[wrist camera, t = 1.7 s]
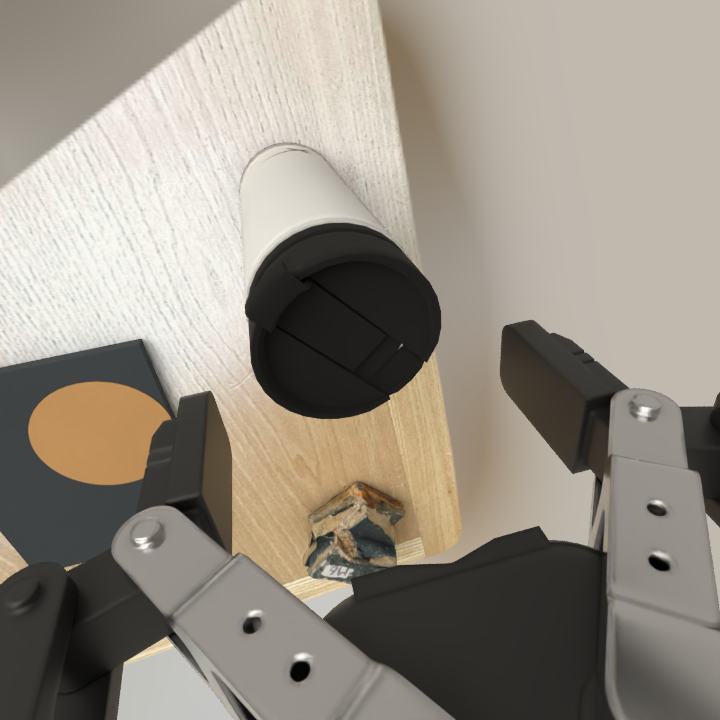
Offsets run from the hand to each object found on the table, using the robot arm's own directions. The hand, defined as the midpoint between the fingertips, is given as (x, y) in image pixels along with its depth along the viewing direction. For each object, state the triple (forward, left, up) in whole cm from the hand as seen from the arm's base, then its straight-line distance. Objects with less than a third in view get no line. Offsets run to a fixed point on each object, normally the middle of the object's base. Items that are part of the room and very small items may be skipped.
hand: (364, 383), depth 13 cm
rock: (+32, 0, -22) cm, 39 cm away
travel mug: (0, 0, -22) cm, 22 cm away
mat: (+18, -20, -22) cm, 35 cm away
